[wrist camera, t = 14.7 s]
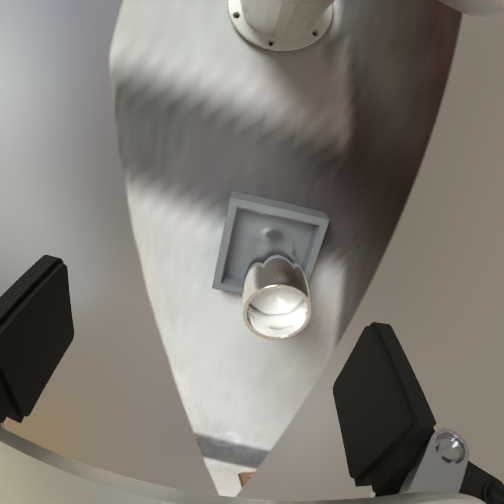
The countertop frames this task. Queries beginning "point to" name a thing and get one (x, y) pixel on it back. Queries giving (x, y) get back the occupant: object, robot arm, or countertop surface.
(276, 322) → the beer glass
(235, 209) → the tray
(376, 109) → the countertop surface
